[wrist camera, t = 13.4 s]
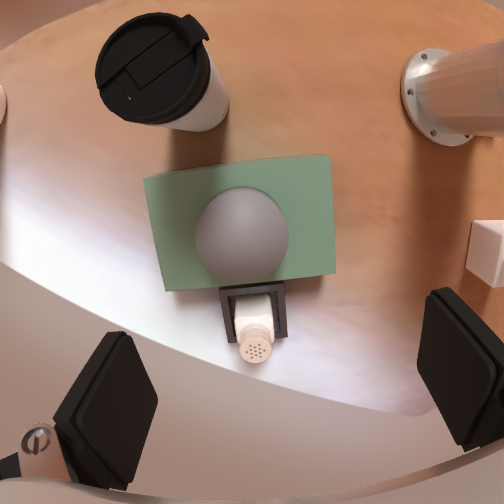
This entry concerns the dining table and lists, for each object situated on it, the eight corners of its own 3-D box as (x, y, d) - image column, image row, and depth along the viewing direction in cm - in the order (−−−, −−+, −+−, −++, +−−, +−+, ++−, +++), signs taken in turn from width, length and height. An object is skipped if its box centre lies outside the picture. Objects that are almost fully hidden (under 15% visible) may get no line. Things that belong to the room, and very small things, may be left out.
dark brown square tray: (281, 272, 38) (283, 283, 36) (285, 324, 41) (287, 337, 38) (220, 279, 39) (218, 290, 36) (229, 329, 41) (228, 343, 38)
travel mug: (243, 109, 32) (236, 68, 13) (192, 143, 33) (124, 148, 14) (211, 65, 30) (169, -16, 11) (161, 99, 31) (68, 62, 13)
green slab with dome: (319, 154, 34) (341, 159, 25) (325, 256, 38) (345, 290, 29) (156, 173, 34) (128, 185, 26) (175, 273, 38) (156, 310, 30)
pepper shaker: (269, 288, 38) (274, 332, 29) (271, 316, 40) (277, 364, 31) (235, 291, 39) (232, 336, 30) (239, 319, 40) (237, 368, 31)
